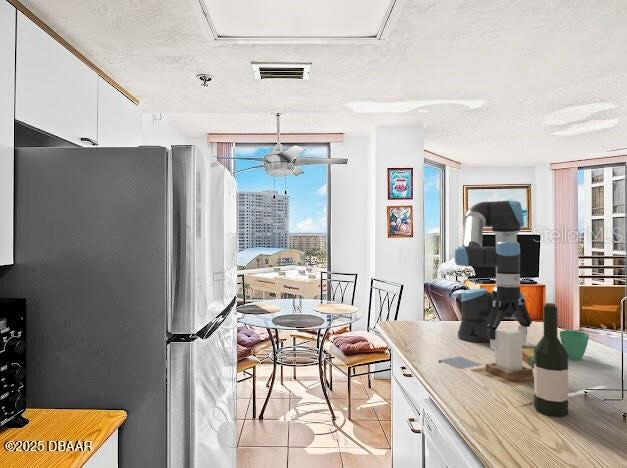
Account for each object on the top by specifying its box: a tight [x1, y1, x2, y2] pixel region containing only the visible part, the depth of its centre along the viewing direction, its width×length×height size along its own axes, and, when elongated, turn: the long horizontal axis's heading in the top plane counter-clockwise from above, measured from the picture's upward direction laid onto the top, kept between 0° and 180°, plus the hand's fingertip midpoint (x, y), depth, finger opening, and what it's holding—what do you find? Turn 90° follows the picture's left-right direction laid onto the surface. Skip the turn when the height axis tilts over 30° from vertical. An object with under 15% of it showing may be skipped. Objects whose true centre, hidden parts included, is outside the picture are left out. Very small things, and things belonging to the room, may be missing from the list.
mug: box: [559, 329, 590, 361], centre depth 165 cm, size 15×10×10 cm
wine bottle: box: [533, 302, 569, 418], centre depth 115 cm, size 8×8×30 cm
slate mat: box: [438, 356, 483, 370], centre depth 156 cm, size 11×11×1 cm
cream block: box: [494, 327, 523, 372], centre depth 143 cm, size 6×6×15 cm
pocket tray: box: [470, 362, 534, 388], centre depth 143 cm, size 18×18×3 cm
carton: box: [522, 348, 534, 369], centre depth 156 cm, size 8×16×4 cm, turn 173°
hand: (508, 346), depth 143 cm, fingers open, 13 cm apart
